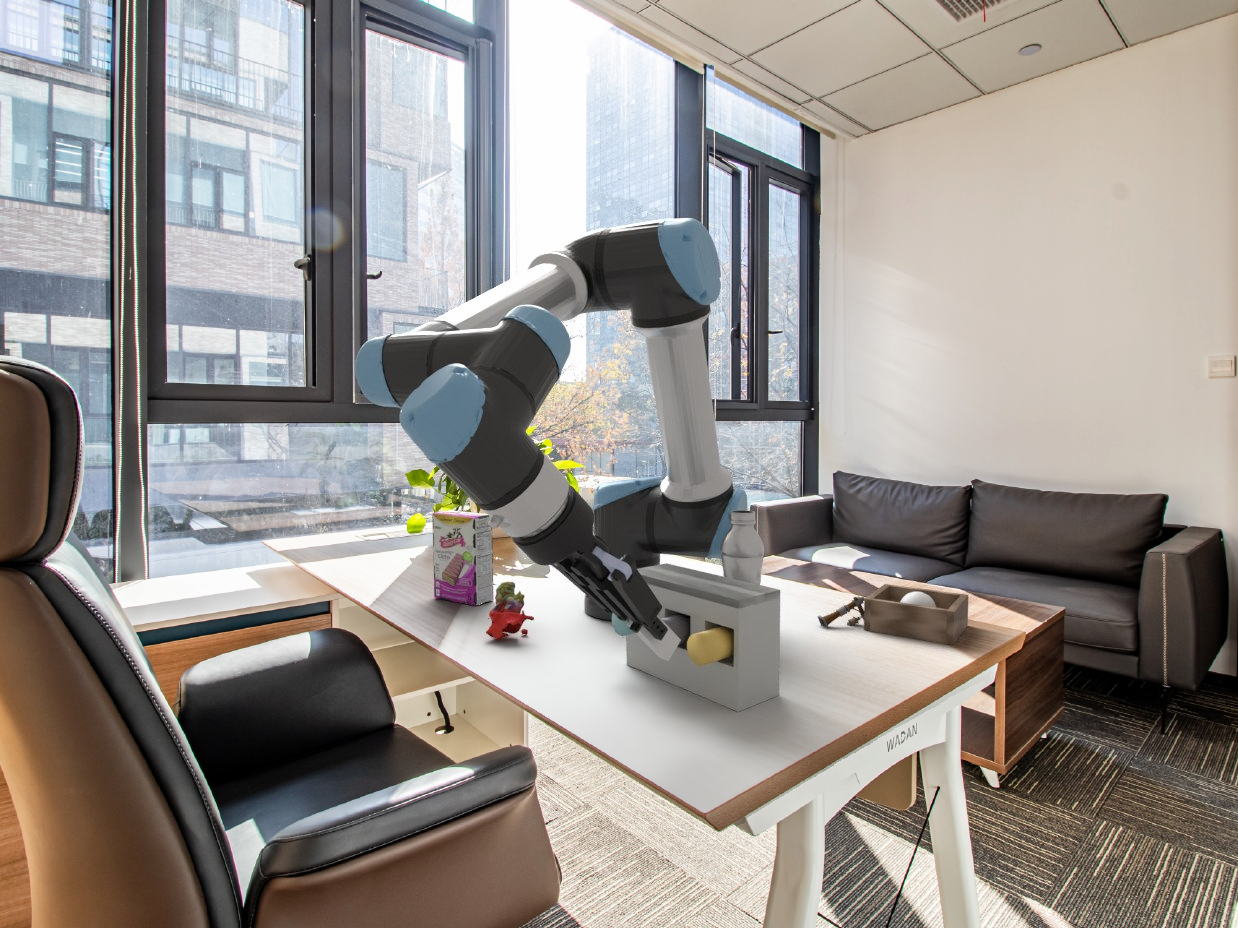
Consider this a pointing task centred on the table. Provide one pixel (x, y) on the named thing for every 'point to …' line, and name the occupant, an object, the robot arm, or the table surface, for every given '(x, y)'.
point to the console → (711, 607)
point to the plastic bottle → (742, 548)
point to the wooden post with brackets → (842, 611)
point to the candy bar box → (462, 557)
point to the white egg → (918, 599)
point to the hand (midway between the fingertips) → (669, 648)
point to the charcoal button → (680, 626)
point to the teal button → (621, 626)
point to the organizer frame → (916, 614)
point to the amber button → (711, 645)
